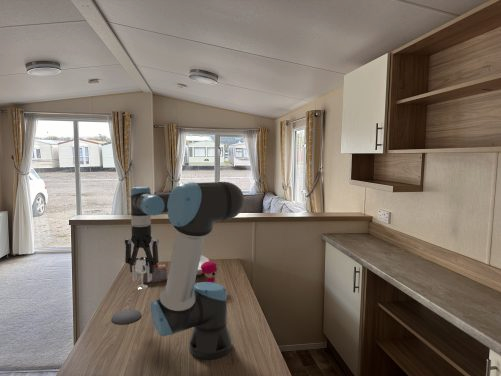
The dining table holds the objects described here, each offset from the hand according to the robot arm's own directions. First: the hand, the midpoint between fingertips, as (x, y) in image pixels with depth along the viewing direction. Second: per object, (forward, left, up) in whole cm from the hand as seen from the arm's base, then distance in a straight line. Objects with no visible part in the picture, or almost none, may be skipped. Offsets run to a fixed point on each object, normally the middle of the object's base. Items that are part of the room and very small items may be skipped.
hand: (142, 280), depth 137 cm
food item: (+46, +14, -18) cm, 52 cm away
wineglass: (0, 0, -3) cm, 3 cm away
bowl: (+64, -5, -18) cm, 67 cm away
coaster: (+3, +9, -18) cm, 20 cm away
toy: (+37, -19, -18) cm, 46 cm away
